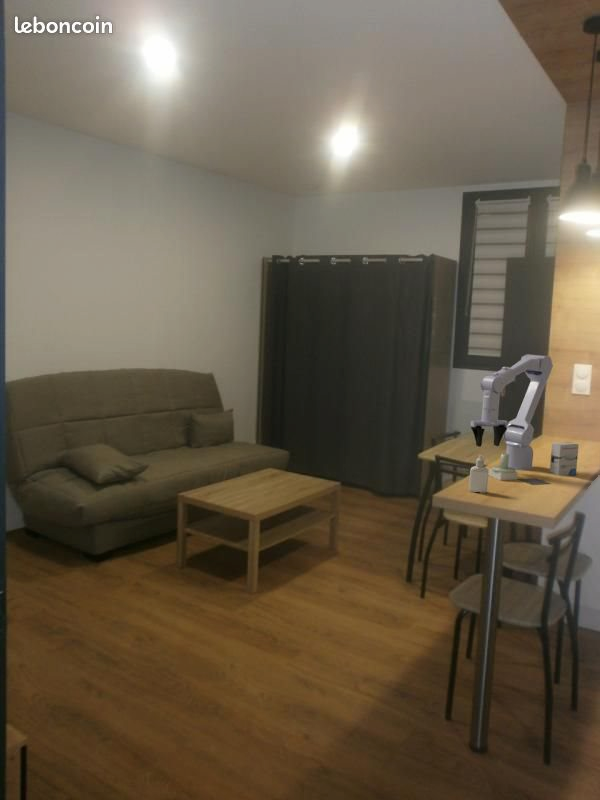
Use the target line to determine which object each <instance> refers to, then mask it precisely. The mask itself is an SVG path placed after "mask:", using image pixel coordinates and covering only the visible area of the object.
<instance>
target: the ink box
mask: <svg viewBox="0 0 600 800" xmlns="http://www.w3.org/2000/svg"><path fill="white" fill-rule="evenodd" d="M578 455H579V444H578V443H574V442H571V441H569V442H568V441H566V442H552V443H551V454H550V465H549V474H553V475H556V476H577V470H578V469H577V468H578V466H577V465H578V459H579V458H578Z"/></svg>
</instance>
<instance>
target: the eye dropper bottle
mask: <svg viewBox="0 0 600 800" xmlns="http://www.w3.org/2000/svg"><path fill="white" fill-rule="evenodd" d="M469 470H470V471H469V472H470V473H469V480H468V481H469V482H468V483H469V484H468V491H469V492H470V493H475V492H480V493H479V494H486V493H487V492H488V482H489V481H488V480H489V476H488V475H489V468H487V467H485V459H483V455H482V454H481V455H480V454H479V455H478V457H477V459H476V460H475V465H474V466H472V467H471V468H470V469H469Z"/></svg>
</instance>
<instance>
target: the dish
mask: <svg viewBox="0 0 600 800" xmlns="http://www.w3.org/2000/svg"><path fill="white" fill-rule="evenodd" d="M518 474H519V472H518V471H516V472H515V473H500V472H495V471H493V470H492V467H491V468H488V477H490V478H493V479H495V480H498V481H517V480H518V477H519V476H518Z"/></svg>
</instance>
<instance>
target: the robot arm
mask: <svg viewBox="0 0 600 800" xmlns="http://www.w3.org/2000/svg"><path fill="white" fill-rule="evenodd" d="M553 367H554V364H553V361H552V358H551V357H550V355H539V354H538V355H537V354H530V353H528V354H527V353H526V354H524V355H522V356H521V359H520V360H518V361H517V362H516V363H515V364H513V365H512V366H510V367H509V366H503V367H501V369H500V370H498V371H496V372H493V374H491V375H485V376H484V377H483V378H482V380H481V382H480V389H481V394H482V396H483V397H482V409H481V419H480V420H479V419H477V420H471V421H470V426H471V427H470V429H471V431H472V433H473V435H474V440H475V446H476V447H482V445H483V436H484V433H485V428H484V427H492V428H493V445H494V446H496V447H499V446H500V443H501V440H502V438H503V440H504V442H505V444H506V452H505V454H509V463H508V467H512V468H515V469H516V471H521V470H534V467H533V461H534V449H533V447H532V446H531V444H532V441H533V438H534V432H535V428H534V427H533V425H532V424H531V422H532V418H533V417H534V414H535V411H536V409H537V407H538V404H539V401H540V398H541V397H542V395H543V391H544V389H545V386H546V384H547V381H548V380H549V377H550V376H551V375H550V374H551V372H552V369H553ZM523 372H525V376H526V377H527V378H529V380H530V383H529V384H528V387H527V390H526V392H525V394H524V398H523V400H522V403H521V405H520V407H519V410H518V412H517V415H516V417H515V418H513V419H512V420H510V421H508V420H503V419H501V420H500V419H499V411H500V410H499V409H500V396H501V393H502V392H503V391H504V388H505V387H506V386H507V385H509V384H510V383H511V382H513V381H515V379H516V376H518V375H519V374H523Z"/></svg>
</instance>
